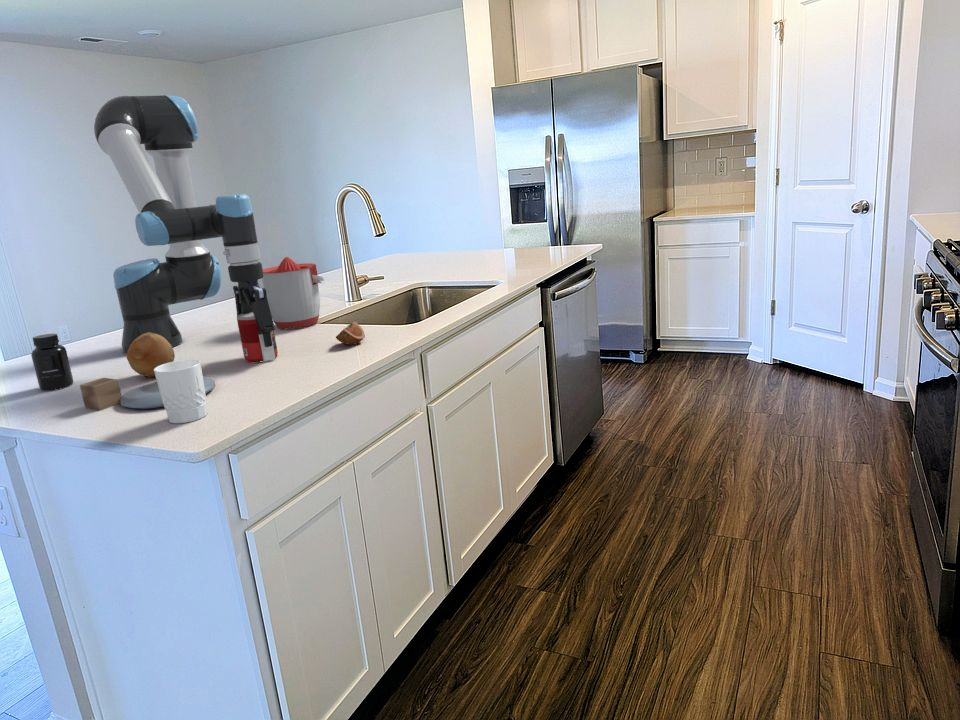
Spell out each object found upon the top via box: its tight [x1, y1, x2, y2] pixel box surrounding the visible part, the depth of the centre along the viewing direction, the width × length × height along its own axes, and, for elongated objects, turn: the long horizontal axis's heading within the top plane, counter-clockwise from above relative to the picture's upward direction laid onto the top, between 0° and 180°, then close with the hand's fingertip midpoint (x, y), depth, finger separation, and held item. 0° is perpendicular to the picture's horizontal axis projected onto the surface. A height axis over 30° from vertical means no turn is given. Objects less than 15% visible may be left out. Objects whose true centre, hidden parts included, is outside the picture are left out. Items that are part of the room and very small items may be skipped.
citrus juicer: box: [261, 256, 325, 330], centre depth 199 cm, size 16×17×20 cm
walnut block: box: [79, 377, 123, 411], centre depth 139 cm, size 5×5×5 cm
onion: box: [126, 332, 176, 378], centre depth 158 cm, size 10×10×10 cm
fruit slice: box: [335, 321, 366, 345], centre depth 171 cm, size 8×7×5 cm
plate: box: [120, 376, 216, 409], centre depth 142 cm, size 18×18×1 cm
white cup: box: [154, 358, 208, 424], centre depth 126 cm, size 8×8×10 cm
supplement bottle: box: [30, 333, 74, 391], centre depth 156 cm, size 7×7×12 cm
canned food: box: [236, 312, 278, 363], centre depth 164 cm, size 8×8×11 cm
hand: (261, 356), depth 166 cm, fingers open, 9 cm apart
